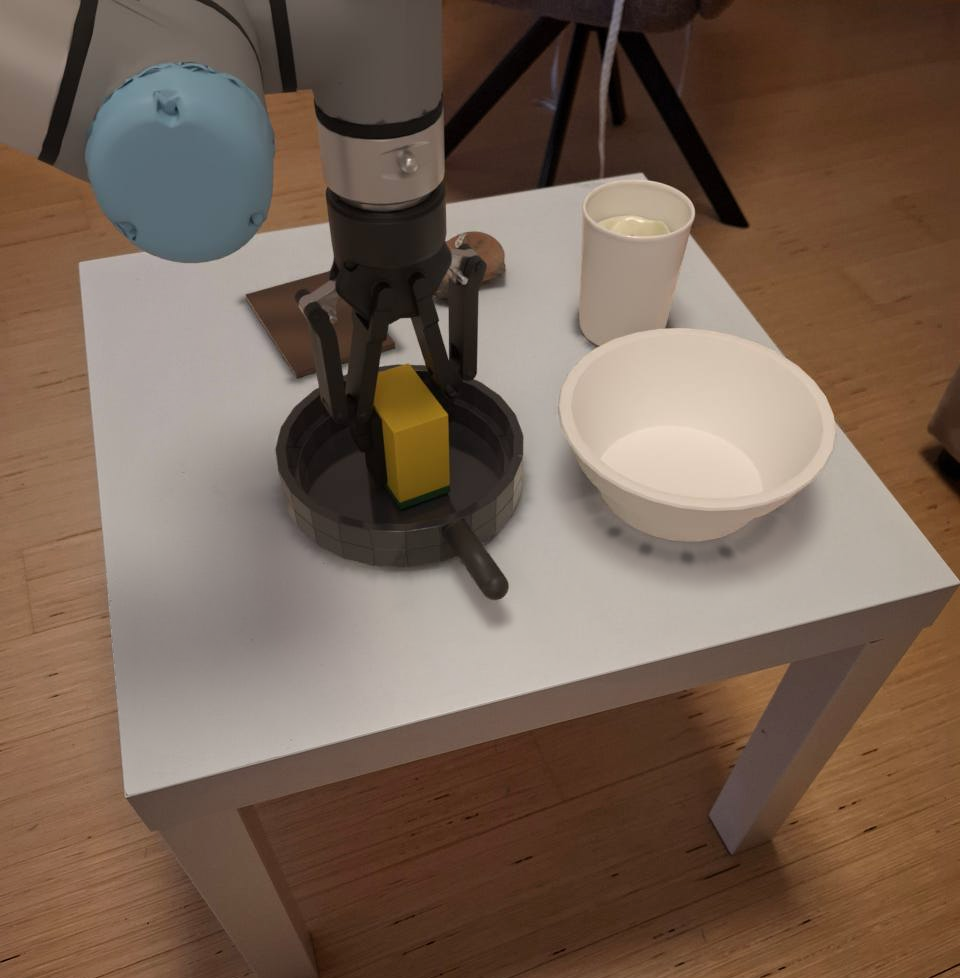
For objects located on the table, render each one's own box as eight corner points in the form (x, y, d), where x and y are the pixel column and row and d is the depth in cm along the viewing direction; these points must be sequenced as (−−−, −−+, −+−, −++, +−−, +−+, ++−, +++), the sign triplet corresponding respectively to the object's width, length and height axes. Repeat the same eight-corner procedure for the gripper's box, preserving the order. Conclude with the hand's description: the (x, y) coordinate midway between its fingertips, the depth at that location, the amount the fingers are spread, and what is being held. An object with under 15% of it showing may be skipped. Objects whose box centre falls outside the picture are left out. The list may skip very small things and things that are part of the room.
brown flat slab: (246, 299, 94) (245, 294, 94) (338, 273, 97) (338, 268, 96) (296, 378, 87) (295, 373, 86) (395, 347, 89) (395, 342, 89)
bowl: (727, 384, 86) (748, 305, 80) (857, 543, 74) (894, 466, 68) (514, 436, 82) (517, 357, 75) (616, 614, 70) (630, 539, 64)
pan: (252, 448, 81) (242, 406, 77) (455, 382, 86) (455, 340, 83) (339, 606, 70) (332, 566, 67) (564, 519, 76) (569, 478, 72)
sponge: (365, 457, 79) (355, 379, 73) (413, 440, 80) (408, 362, 74) (400, 510, 75) (393, 433, 69) (450, 492, 77) (448, 414, 70)
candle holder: (643, 288, 95) (662, 170, 86) (690, 344, 90) (716, 224, 80) (555, 309, 93) (564, 190, 84) (597, 366, 88) (612, 247, 78)
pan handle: (439, 536, 71) (438, 518, 70) (463, 527, 72) (462, 509, 70) (488, 609, 67) (489, 591, 66) (513, 599, 68) (514, 581, 66)
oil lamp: (413, 275, 98) (440, 318, 94) (406, 240, 95) (434, 283, 90) (492, 247, 99) (522, 288, 95) (488, 212, 96) (519, 253, 91)
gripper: (272, 247, 54) (323, 529, 73) (537, 177, 59) (521, 458, 78) (229, 187, 58) (288, 469, 77) (481, 126, 63) (479, 405, 82)
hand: (405, 463), depth 77 cm, fingers closed on sponge, 4 cm apart
